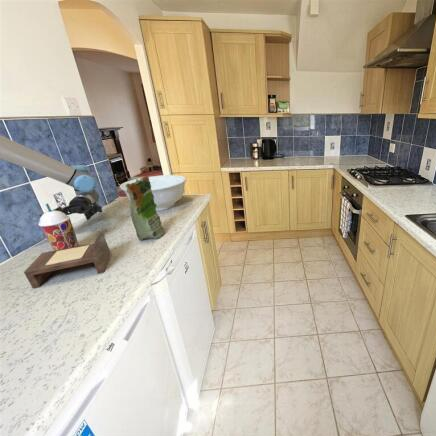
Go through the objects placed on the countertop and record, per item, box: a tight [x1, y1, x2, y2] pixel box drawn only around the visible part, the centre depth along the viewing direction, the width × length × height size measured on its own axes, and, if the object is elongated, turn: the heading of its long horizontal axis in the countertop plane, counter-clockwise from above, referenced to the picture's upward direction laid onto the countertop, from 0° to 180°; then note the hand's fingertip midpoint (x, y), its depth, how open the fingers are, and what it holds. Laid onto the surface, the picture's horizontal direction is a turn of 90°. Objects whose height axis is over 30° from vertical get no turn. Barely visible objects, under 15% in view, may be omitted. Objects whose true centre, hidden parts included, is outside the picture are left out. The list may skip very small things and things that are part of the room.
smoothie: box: [37, 203, 80, 251], centre depth 88 cm, size 8×8×20 cm
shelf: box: [23, 233, 112, 289], centre depth 80 cm, size 18×12×9 cm, turn 115°
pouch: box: [126, 176, 165, 241], centre depth 98 cm, size 11×12×25 cm
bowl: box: [119, 174, 187, 212], centre depth 135 cm, size 32×32×15 cm
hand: (65, 220), depth 94 cm, fingers open, 13 cm apart
